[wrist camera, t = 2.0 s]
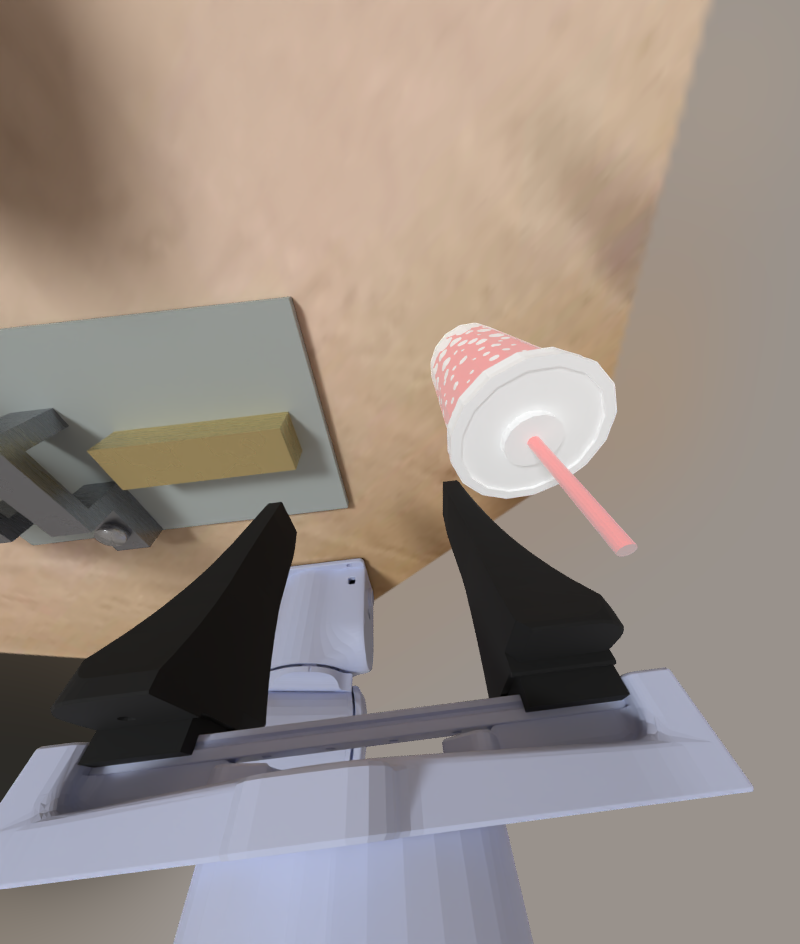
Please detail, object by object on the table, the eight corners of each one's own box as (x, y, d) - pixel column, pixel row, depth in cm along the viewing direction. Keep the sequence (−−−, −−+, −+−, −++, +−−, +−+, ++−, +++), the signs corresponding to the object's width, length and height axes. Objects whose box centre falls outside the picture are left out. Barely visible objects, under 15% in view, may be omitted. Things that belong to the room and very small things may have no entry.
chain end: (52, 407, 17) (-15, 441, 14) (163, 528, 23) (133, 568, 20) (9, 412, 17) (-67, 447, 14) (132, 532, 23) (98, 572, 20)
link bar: (288, 411, 18) (279, 428, 16) (302, 450, 20) (295, 469, 18) (113, 431, 18) (86, 451, 16) (144, 469, 20) (122, 490, 18)
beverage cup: (401, 387, 18) (447, 594, 7) (452, 285, 15) (678, 376, 4) (477, 422, 20) (604, 625, 9) (537, 338, 17) (841, 497, 6)
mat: (291, 296, 15) (288, 298, 14) (348, 502, 24) (347, 507, 24) (-217, 352, 14) (-237, 356, 14) (39, 539, 24) (32, 545, 23)
